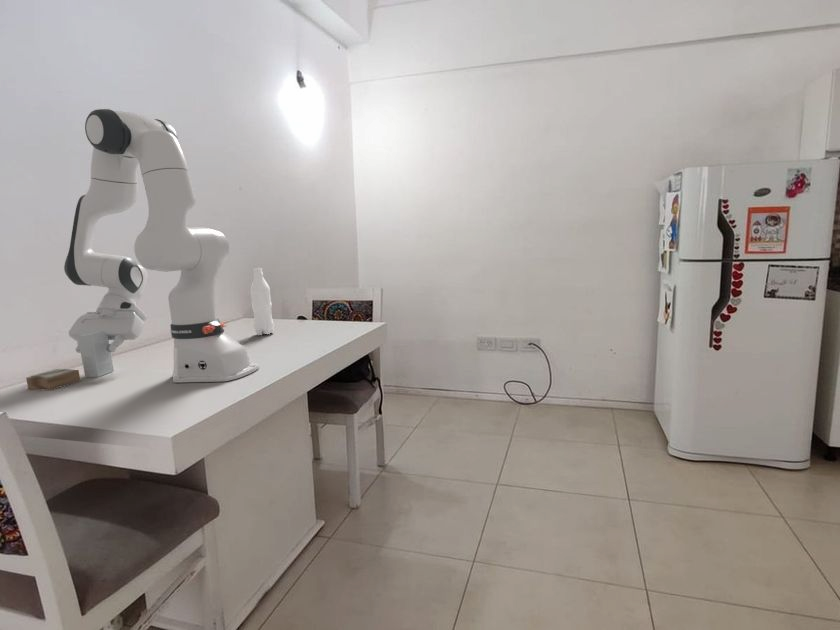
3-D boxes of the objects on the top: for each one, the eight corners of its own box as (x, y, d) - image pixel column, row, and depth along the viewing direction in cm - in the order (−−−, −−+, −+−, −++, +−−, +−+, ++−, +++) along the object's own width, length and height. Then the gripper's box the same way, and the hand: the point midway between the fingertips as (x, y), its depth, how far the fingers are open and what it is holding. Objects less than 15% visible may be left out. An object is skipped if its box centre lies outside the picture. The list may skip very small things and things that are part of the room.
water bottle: (268, 336, 179) (261, 268, 175) (251, 336, 181) (243, 269, 177) (278, 332, 186) (271, 267, 182) (261, 332, 188) (254, 267, 184)
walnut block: (80, 380, 131) (78, 369, 130) (50, 390, 123) (48, 377, 123) (59, 379, 133) (56, 368, 133) (28, 388, 126) (25, 376, 125)
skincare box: (101, 371, 140) (94, 330, 138) (114, 371, 139) (107, 330, 138) (84, 377, 134) (76, 335, 132) (97, 377, 133) (90, 334, 132)
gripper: (76, 306, 142) (53, 346, 134) (139, 303, 139) (119, 344, 131) (91, 318, 147) (69, 358, 139) (152, 316, 145) (134, 356, 137)
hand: (94, 351), depth 135 cm, fingers open, 8 cm apart
